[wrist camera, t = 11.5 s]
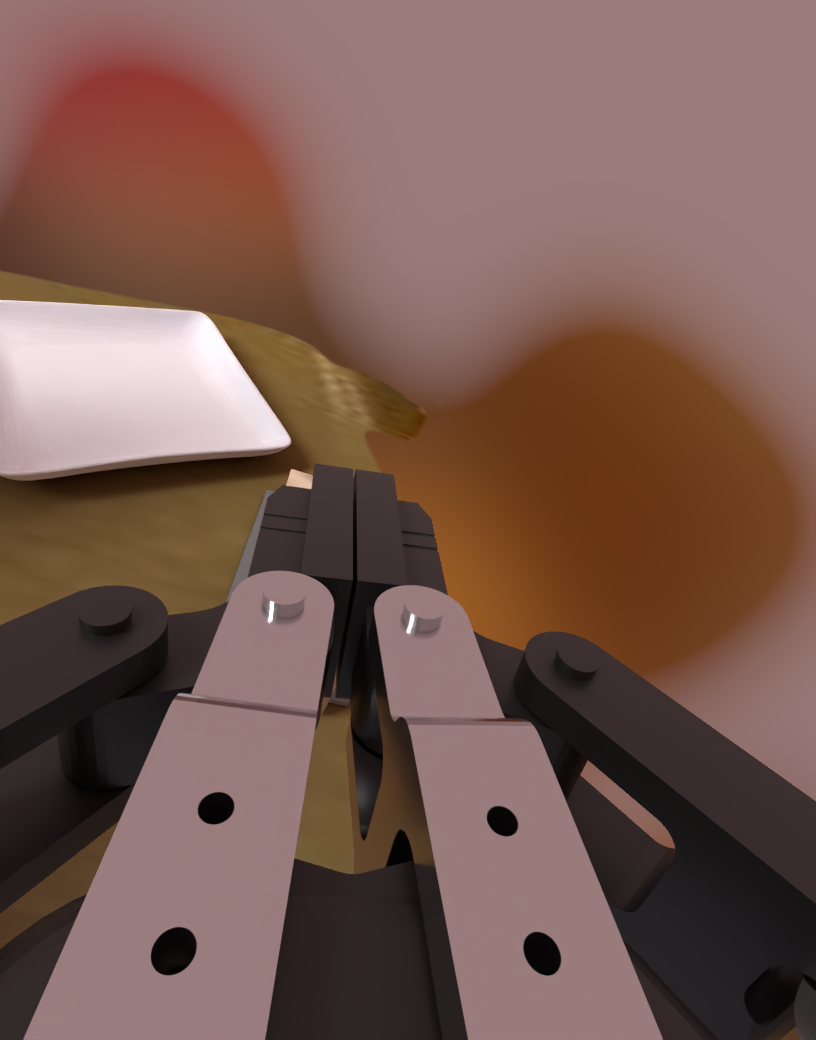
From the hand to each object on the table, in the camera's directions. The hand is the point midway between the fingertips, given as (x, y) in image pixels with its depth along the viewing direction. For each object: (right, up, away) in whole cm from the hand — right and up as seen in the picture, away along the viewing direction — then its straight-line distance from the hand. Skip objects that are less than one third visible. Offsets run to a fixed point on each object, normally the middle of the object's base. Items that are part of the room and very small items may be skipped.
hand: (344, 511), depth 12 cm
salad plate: (-23, +9, +39) cm, 46 cm away
